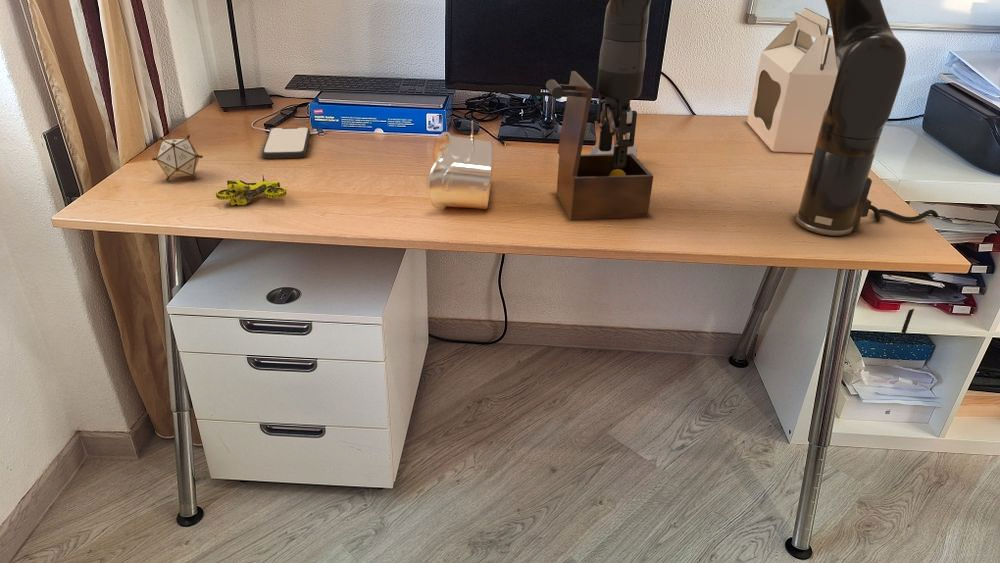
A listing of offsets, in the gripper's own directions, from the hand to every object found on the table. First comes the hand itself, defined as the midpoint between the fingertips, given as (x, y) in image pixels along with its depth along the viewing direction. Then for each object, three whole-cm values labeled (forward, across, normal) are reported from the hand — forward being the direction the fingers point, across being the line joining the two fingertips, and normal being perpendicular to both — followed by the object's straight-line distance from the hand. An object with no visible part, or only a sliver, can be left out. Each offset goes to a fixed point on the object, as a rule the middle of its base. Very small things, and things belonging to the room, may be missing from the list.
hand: (611, 158), depth 127 cm
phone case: (+9, +37, +61) cm, 72 cm away
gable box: (+9, +35, -54) cm, 65 cm away
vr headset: (+9, +7, +27) cm, 29 cm away
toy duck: (+8, 0, 0) cm, 8 cm away
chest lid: (-7, 0, +7) cm, 10 cm away
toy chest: (+9, 0, +1) cm, 9 cm away
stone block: (+9, +19, -6) cm, 22 cm away
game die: (+9, +20, +79) cm, 82 cm away
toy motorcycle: (+9, +8, +64) cm, 65 cm away
